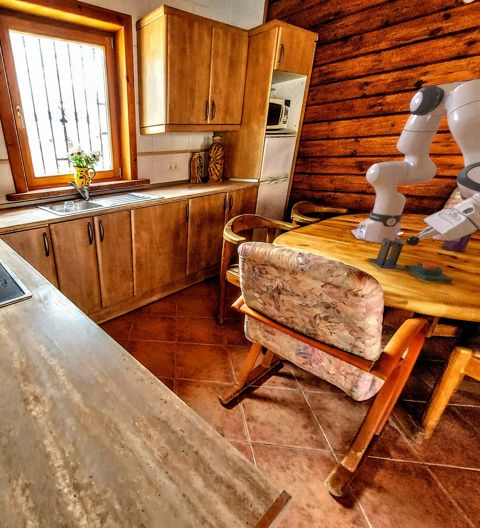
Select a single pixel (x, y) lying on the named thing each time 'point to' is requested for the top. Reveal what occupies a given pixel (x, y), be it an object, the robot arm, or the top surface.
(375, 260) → the power bracket
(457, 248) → the purple box
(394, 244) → the lever
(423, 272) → the panel
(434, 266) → the button
